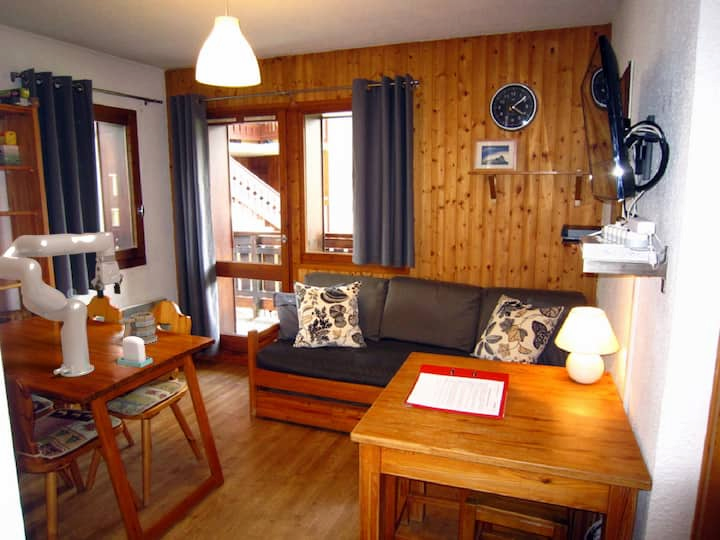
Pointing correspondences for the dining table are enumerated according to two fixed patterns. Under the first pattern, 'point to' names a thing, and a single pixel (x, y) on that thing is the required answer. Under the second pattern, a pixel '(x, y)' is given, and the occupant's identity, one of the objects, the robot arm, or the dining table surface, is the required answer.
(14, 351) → the dining table surface
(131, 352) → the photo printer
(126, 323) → the tankard
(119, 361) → the slot frame
